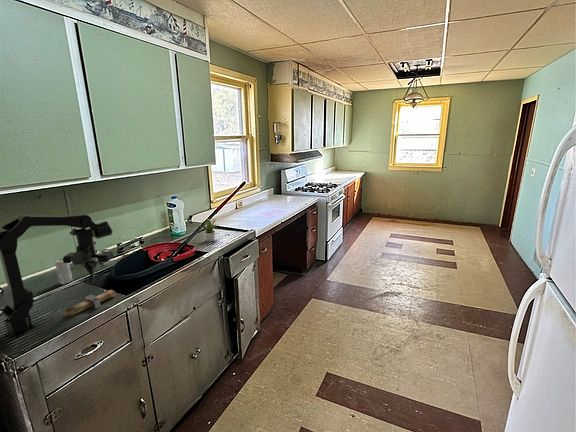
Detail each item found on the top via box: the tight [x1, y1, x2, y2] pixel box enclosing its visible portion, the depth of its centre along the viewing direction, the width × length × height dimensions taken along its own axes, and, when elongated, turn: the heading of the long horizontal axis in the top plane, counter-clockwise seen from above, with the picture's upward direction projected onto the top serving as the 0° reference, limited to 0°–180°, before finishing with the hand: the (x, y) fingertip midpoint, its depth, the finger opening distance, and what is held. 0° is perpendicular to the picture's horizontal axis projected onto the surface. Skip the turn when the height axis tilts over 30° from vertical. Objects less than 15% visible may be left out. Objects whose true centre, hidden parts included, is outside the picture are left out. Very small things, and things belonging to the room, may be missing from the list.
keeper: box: [85, 294, 101, 310], centre depth 130 cm, size 2×7×4 cm, turn 58°
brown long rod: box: [62, 289, 116, 318], centre depth 129 cm, size 20×4×3 cm, turn 150°
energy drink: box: [54, 257, 73, 285], centre depth 150 cm, size 5×5×12 cm
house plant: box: [199, 217, 218, 242], centre depth 209 cm, size 14×14×16 cm
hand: (92, 274), depth 133 cm, fingers closed
